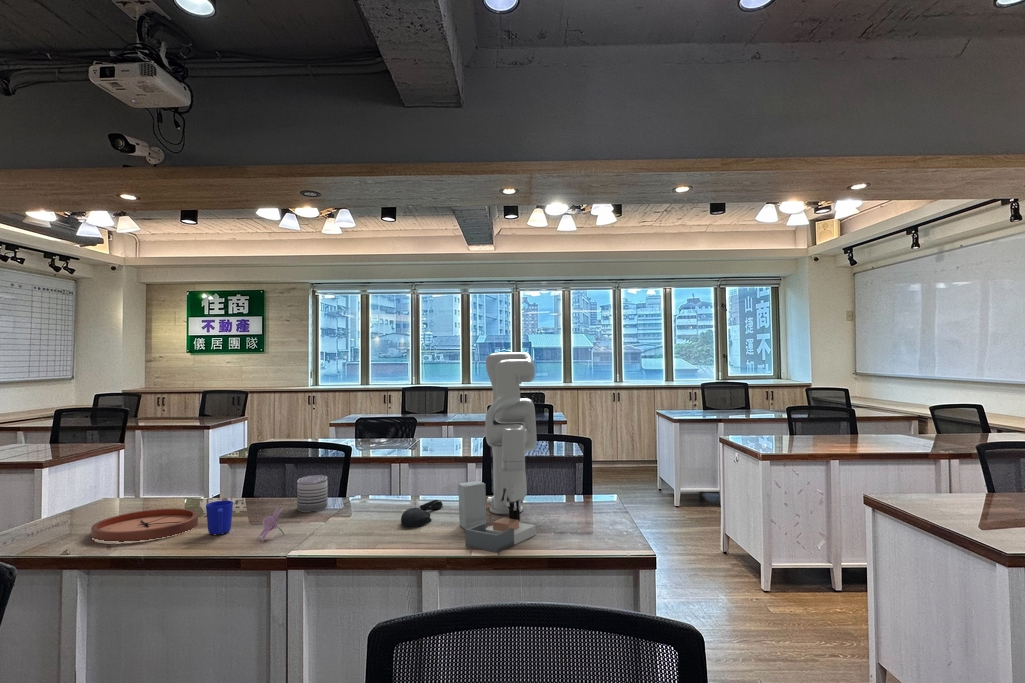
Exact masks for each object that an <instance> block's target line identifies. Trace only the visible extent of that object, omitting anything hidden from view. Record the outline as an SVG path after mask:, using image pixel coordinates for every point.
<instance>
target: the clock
mask: <svg viewBox="0 0 1025 683" xmlns="http://www.w3.org/2000/svg"><path fill="white" fill-rule="evenodd" d="M198 525H199V513H198V511H196V510H193V509H190V508H158V509H156V508H155V509H147V510H138V511H135V512H133V511H132V512H128V513H124V514H123V513H122V514H118V515H115V516H110V517H108V518H105V519H101V520H100V521H97V522H96V523H94V524H93V525H92V526H91V529H90V532H91V533H90V538H91V537H92V538H94V539H98V540H104V541H119V542H124V541H140V540H149V539H156V538H162V537H167V536H172V535H175V534H179V533H182V532H185V531H188V530H190V531H192V530H193V529H192V528H194V527H195V528H197V527H198ZM196 526H197V527H196ZM195 528H194V529H195ZM191 529H192V530H191ZM188 532H189V531H188Z"/></svg>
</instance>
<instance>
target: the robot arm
mask: <svg viewBox="0 0 1025 683" xmlns="http://www.w3.org/2000/svg"><path fill="white" fill-rule="evenodd" d="M485 368H486V372H487V376H488V379H489V381H490V384H491V387H492V399H493V400H492V403H491V405H490V406H489V407H488V409H487V412H486V415H485V422H484V423H485V424H484V425H485V439H486V443H487V445H488V446H489V447H491V451H492V465H493V466H492V470H493V471H492V474H493V476H492V477H493V478H492V479H493V496H488V497H487V499H486V504H491V506H490V507H489V512H490V513H492V514H496V515H508V518H510V519H516V520H519V522H520V521H521V518H520V516H521V512H523V510H524V507H523V506H522V503H523V502H524V501H525V498H526V497H527V493H528V492H527V491H528V490H527V489H528V486H527V475H526V456H525V455H526V452H532V451H534V450H535V449H536V448H537V442H538V441H537V440H538V438H537V423H536V409H535V404H534V402H533V400H532V399H530V398H528V397H527V398H526V397H525V398H524V397H523V398H522V397H521V390H520V389H521V388H520V383H531V382H533V381H534V379H535V376H536V369H535V364H534V360H533V358H532V356H531V355H530V353H529V352H524V351H523V352H521V351H517V352H514V351H513V352H507V351H506V352H505V351H504V352H500V351H499V352H493V353H490V354H488V355H487V356H486V358H485ZM494 420H495V422H497V423H499V424H494Z"/></svg>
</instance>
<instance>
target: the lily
mask: <svg viewBox="0 0 1025 683" xmlns="http://www.w3.org/2000/svg"><path fill="white" fill-rule="evenodd" d="M283 509H284V507H281V508H279V506H277V507H276V509H274V512H272V515H267V516H265V517H264V518H263V520H262V526H263V530H261V532H260V534H259V536H261V540H262V541H263V542H264V540H265V538H266V537H267V534H269V532H270V531H273V530H276V529H278V530H279V531H280V532H281V533H282V534H283V536H285V535H284V534H285V533H284V531H283V530H282V529H281V528H280V526H278V518H279V516H280V514H281V513H282V511H283Z"/></svg>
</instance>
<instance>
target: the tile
mask: <svg viewBox="0 0 1025 683" xmlns="http://www.w3.org/2000/svg"><path fill="white" fill-rule="evenodd" d="M519 523H520V521H519V520H516V519H510V518H509V517H501V518H499V519H496V520H494V521H492V525H493V530H498V531H505V530H508V529H510V528H514V530H515V529H518V528H519Z"/></svg>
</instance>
